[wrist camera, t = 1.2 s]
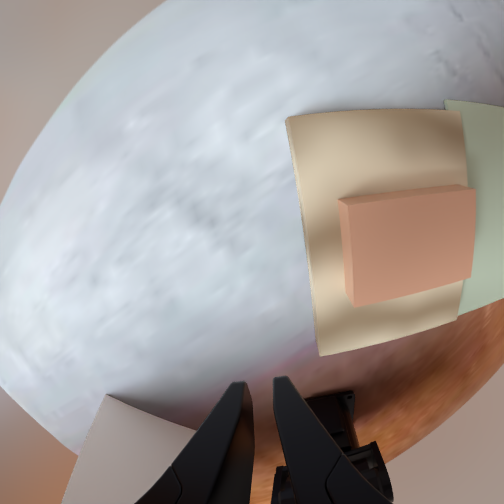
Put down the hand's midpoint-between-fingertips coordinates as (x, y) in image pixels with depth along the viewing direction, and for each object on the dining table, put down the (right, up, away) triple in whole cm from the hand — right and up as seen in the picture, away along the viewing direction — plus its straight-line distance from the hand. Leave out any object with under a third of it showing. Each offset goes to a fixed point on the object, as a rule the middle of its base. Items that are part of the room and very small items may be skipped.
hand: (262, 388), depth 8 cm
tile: (+10, +5, +9) cm, 14 cm away
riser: (+9, +6, +11) cm, 15 cm away
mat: (+21, +8, +10) cm, 24 cm away
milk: (-13, -18, +20) cm, 30 cm away
